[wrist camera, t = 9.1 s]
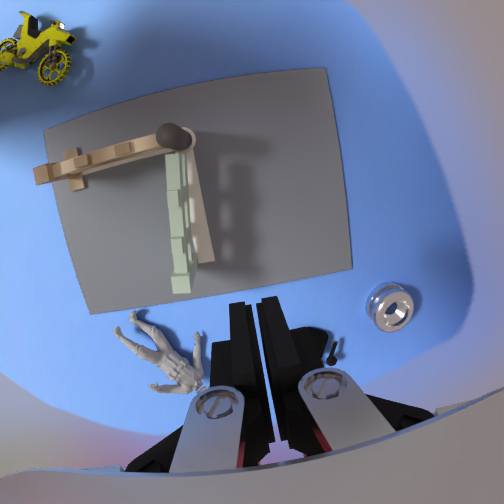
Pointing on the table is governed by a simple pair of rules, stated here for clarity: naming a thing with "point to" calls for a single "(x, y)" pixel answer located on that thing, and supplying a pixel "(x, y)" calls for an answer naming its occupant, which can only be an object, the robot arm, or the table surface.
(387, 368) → the table surface
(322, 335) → the wireless earbuds
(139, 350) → the soldier figure
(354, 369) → the table surface
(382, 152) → the table surface
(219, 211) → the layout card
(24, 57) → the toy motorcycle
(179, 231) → the fence swing section
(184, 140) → the fence fixed section
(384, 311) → the grooved metal pulley
